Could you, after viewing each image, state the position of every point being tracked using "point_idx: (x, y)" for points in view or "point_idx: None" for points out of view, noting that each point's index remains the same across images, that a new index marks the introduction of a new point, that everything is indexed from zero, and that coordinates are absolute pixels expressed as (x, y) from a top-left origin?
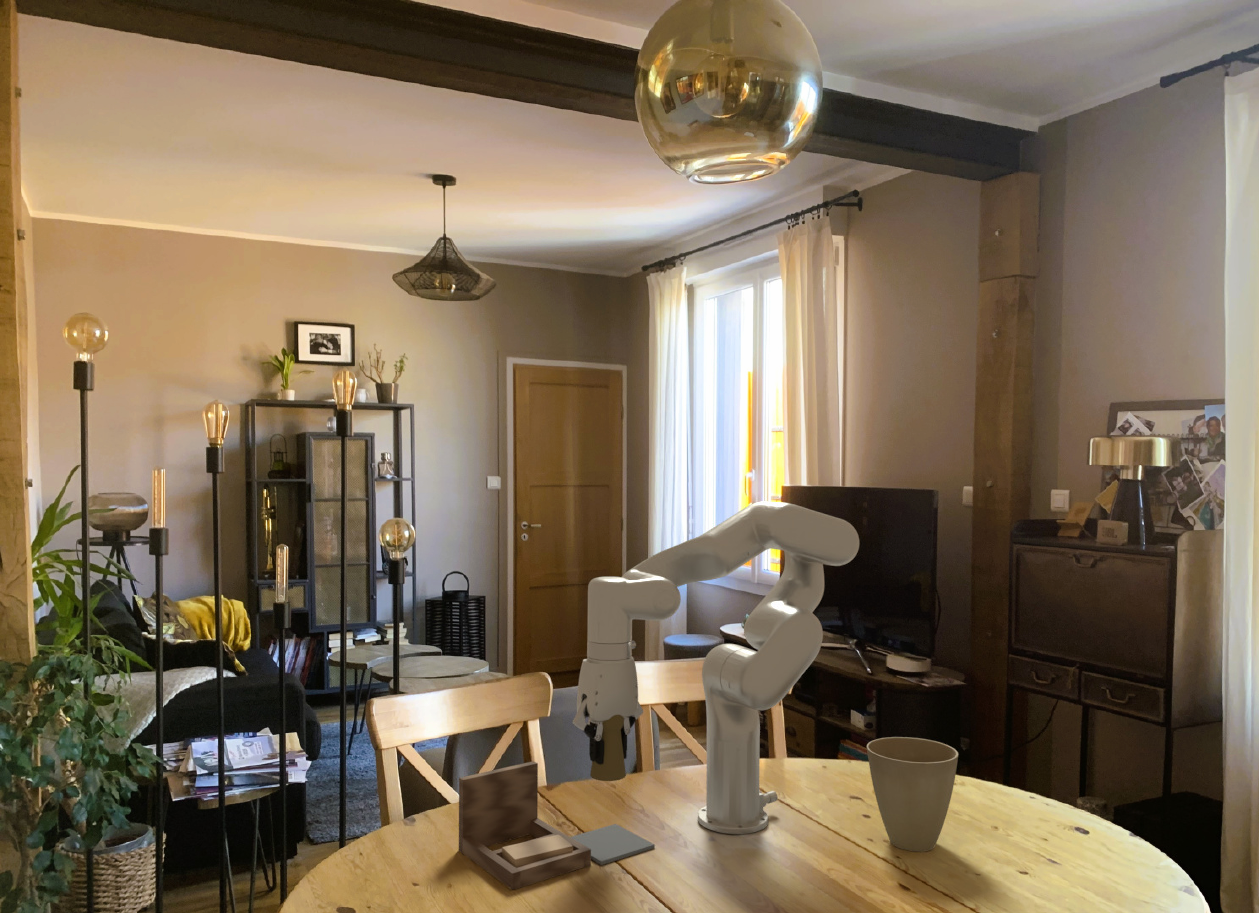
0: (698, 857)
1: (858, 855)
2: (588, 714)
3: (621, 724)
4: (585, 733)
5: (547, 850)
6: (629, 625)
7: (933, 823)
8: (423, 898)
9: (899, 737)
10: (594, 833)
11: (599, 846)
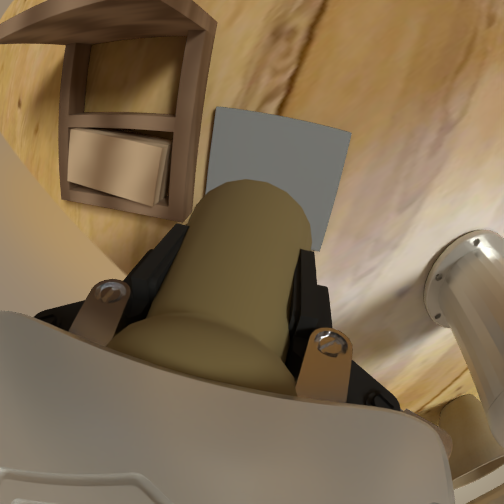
0: (332, 311)
1: (420, 399)
2: (59, 340)
3: None
4: (75, 305)
5: (112, 189)
6: None
7: None
8: (15, 142)
9: None
10: (281, 132)
11: None
